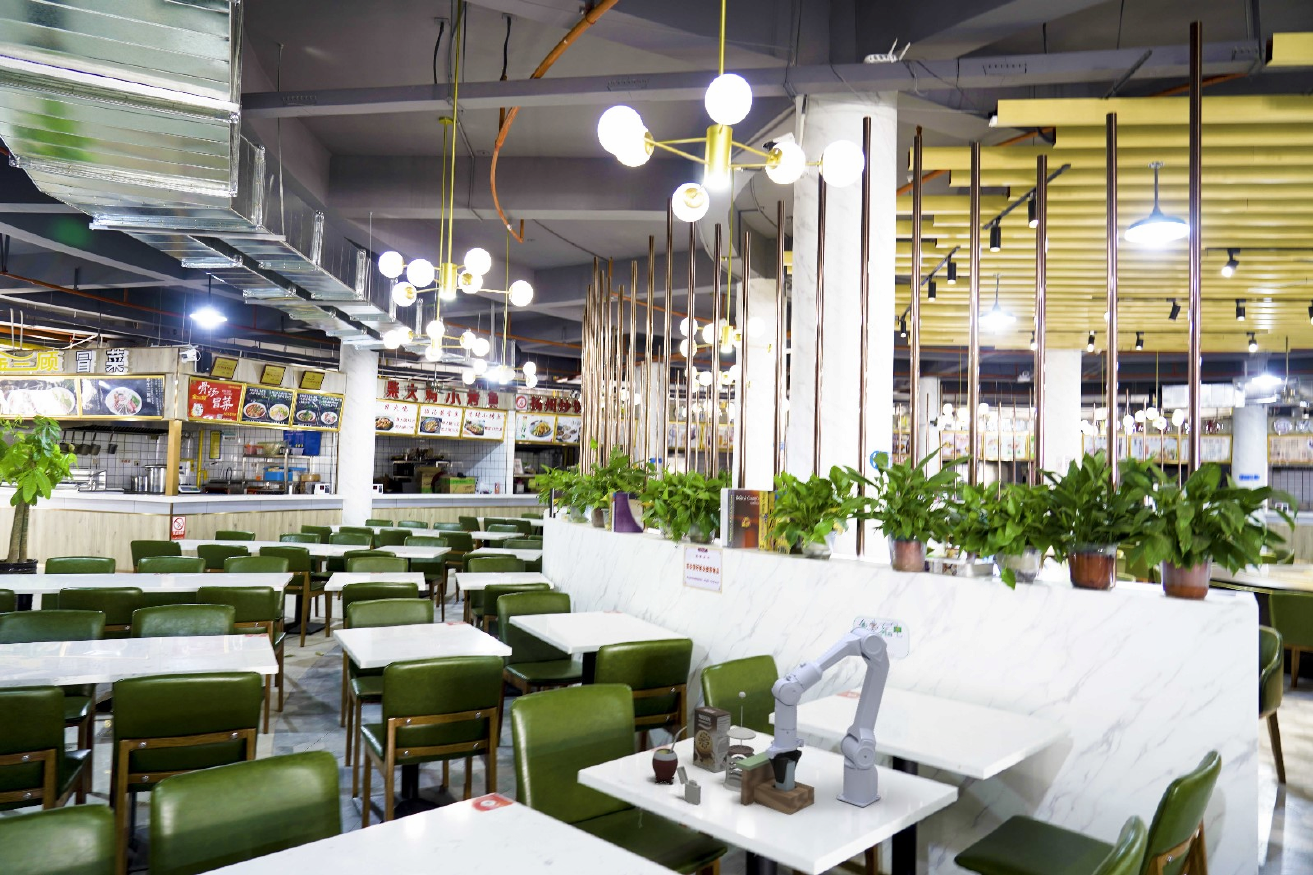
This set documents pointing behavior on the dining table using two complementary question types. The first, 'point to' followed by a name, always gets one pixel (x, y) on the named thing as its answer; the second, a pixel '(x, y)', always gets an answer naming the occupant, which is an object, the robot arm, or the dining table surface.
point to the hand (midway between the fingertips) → (784, 780)
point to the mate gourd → (665, 763)
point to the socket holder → (770, 787)
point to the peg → (788, 778)
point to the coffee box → (711, 738)
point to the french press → (740, 733)
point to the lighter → (689, 787)
